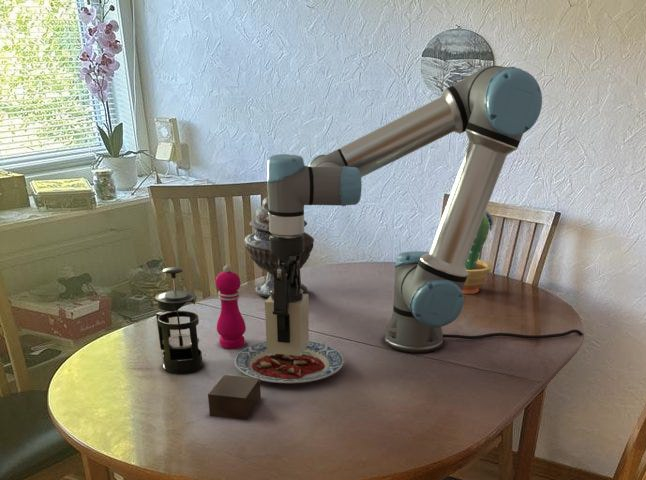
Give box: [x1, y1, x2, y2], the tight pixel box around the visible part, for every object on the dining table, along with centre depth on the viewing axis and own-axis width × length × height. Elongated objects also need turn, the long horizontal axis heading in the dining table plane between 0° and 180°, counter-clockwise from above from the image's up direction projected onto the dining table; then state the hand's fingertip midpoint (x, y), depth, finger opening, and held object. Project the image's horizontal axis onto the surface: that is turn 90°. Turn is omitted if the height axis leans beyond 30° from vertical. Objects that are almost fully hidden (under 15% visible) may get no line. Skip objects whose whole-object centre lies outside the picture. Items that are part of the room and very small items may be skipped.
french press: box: [154, 267, 205, 375], centre depth 160 cm, size 12×9×23 cm
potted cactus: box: [462, 210, 494, 295], centre depth 218 cm, size 15×15×25 cm
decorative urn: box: [244, 196, 315, 299], centre depth 206 cm, size 20×20×35 cm
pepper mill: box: [214, 264, 247, 350], centre depth 174 cm, size 7×7×20 cm
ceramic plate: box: [234, 340, 345, 384], centre depth 167 cm, size 26×26×3 cm
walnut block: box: [207, 374, 262, 421], centre depth 148 cm, size 8×10×5 cm
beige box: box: [264, 287, 310, 356], centre depth 161 cm, size 15×8×15 cm
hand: (288, 335), depth 163 cm, fingers closed on beige box, 8 cm apart
